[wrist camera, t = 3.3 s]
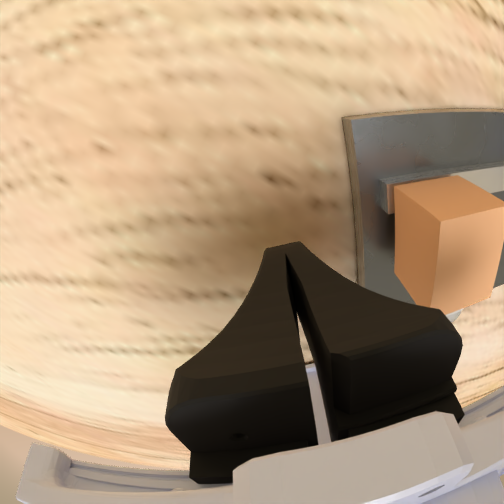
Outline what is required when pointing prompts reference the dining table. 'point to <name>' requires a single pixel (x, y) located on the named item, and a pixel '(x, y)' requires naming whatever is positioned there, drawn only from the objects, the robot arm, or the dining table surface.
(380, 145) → the bolt plate
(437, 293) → the orange block
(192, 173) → the dining table surface
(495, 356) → the dining table surface
